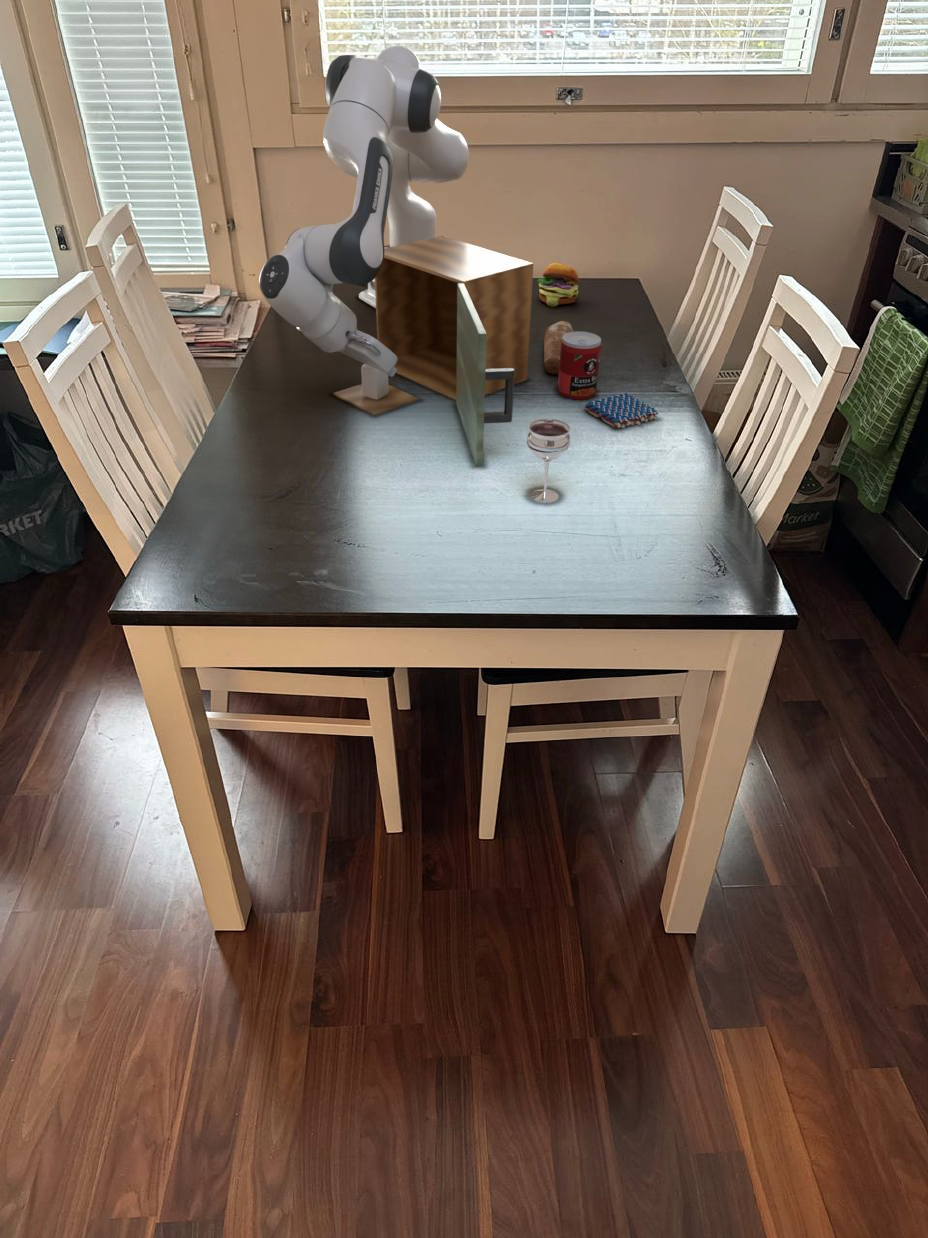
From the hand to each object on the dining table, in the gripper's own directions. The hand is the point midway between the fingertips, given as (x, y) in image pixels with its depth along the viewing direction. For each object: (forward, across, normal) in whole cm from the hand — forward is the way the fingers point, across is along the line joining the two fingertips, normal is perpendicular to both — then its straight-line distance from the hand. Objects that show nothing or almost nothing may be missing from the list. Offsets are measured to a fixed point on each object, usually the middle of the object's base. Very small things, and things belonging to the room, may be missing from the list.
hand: (377, 365), depth 176 cm
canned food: (+27, -24, -18) cm, 40 cm away
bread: (+34, -10, -24) cm, 43 cm away
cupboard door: (+7, -25, +2) cm, 26 cm away
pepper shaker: (+4, 0, +5) cm, 6 cm away
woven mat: (+26, -37, -16) cm, 48 cm away
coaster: (+4, 0, +5) cm, 6 cm away
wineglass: (+1, -49, +8) cm, 50 cm away
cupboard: (+18, 0, -9) cm, 20 cm away
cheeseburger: (+55, +18, -46) cm, 74 cm away
